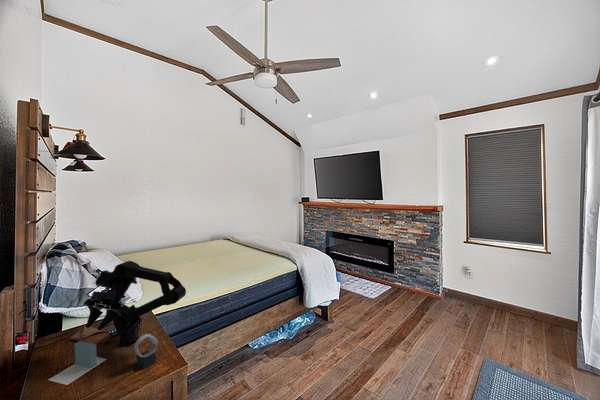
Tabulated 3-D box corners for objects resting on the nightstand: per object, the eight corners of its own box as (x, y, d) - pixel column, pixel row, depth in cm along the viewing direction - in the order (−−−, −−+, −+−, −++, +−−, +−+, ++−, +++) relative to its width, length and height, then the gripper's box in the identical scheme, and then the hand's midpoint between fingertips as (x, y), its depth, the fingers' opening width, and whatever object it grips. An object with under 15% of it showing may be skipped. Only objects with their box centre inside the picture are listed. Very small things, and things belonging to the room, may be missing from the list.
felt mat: (89, 356, 105) (89, 355, 105) (106, 359, 102) (106, 359, 102) (47, 380, 91) (47, 379, 91) (67, 385, 89) (67, 385, 89)
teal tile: (80, 361, 101) (80, 341, 101) (96, 364, 99) (96, 344, 99) (75, 364, 99) (74, 343, 99) (91, 368, 97) (90, 347, 97)
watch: (160, 360, 103) (160, 332, 102) (139, 371, 96) (138, 342, 96) (153, 355, 106) (152, 328, 105) (131, 366, 99) (131, 337, 99)
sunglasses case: (64, 340, 115) (73, 323, 118) (80, 340, 121) (87, 324, 124) (93, 348, 110) (101, 330, 113) (108, 348, 116) (115, 331, 119)
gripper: (87, 279, 108) (58, 318, 98) (123, 284, 104) (96, 325, 94) (106, 291, 116) (80, 327, 106) (140, 296, 112) (117, 335, 102)
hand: (92, 328), depth 102 cm, fingers open, 6 cm apart
